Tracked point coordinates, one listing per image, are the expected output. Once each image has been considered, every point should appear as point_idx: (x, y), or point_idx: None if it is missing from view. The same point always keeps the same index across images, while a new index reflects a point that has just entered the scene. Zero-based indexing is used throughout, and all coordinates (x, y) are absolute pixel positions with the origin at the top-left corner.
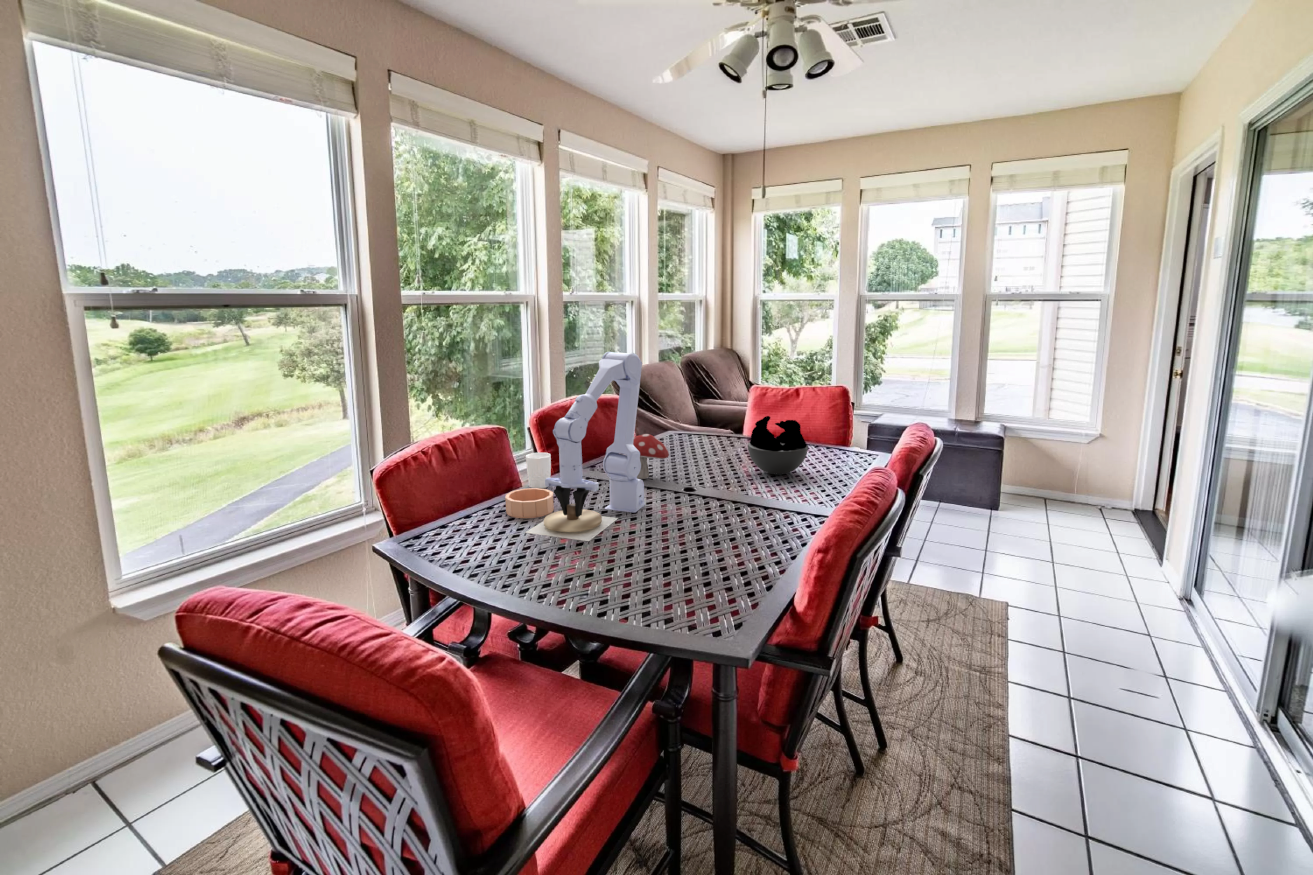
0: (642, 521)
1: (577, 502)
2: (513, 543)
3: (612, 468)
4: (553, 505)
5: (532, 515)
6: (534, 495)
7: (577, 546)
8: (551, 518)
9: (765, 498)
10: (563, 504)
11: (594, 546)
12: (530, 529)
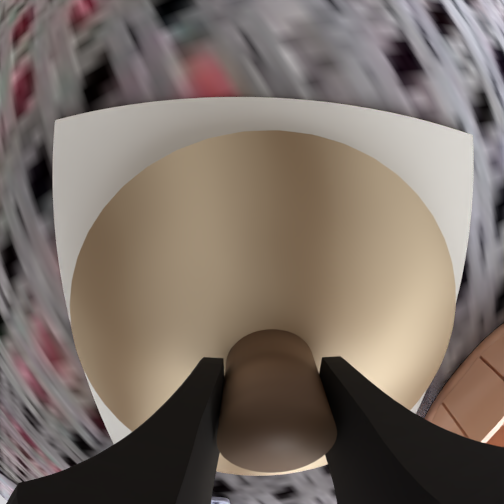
0: (46, 424)
1: (147, 443)
2: (439, 21)
3: None
4: None
5: (493, 348)
6: None
7: (99, 55)
8: (417, 310)
9: (12, 488)
10: (366, 412)
11: (32, 101)
12: (469, 186)
